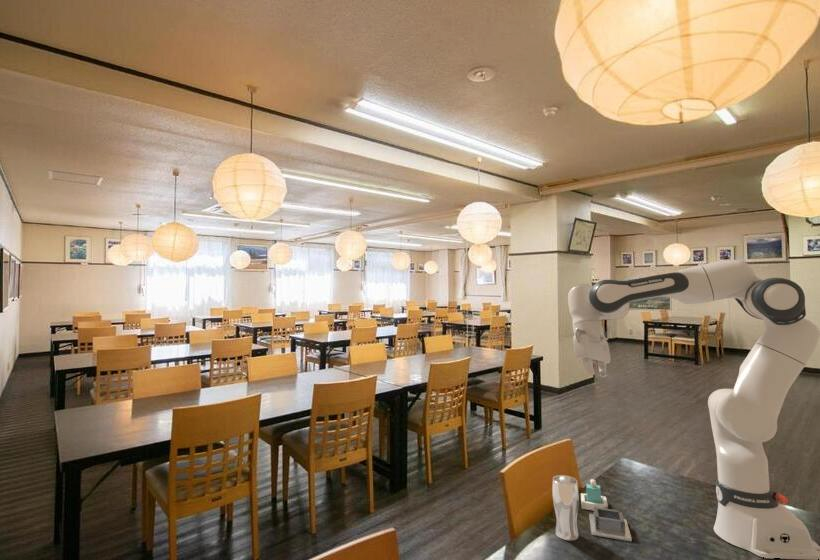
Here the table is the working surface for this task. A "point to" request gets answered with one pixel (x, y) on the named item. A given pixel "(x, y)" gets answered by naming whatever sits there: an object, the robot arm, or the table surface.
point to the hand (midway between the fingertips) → (597, 375)
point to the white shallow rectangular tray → (591, 505)
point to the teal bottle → (593, 492)
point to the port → (609, 524)
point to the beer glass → (566, 506)
